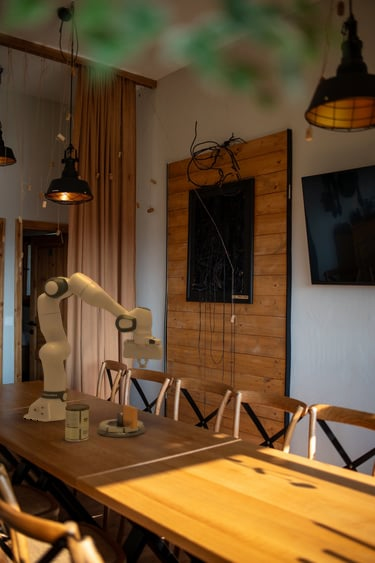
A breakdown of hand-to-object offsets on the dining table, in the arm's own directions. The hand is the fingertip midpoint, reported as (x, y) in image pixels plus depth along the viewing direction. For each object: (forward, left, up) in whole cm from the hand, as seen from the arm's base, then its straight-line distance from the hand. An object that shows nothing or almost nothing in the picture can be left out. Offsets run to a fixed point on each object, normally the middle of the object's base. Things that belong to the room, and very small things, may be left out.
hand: (142, 368), depth 265 cm
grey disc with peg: (-3, -18, -27) cm, 33 cm away
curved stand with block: (-2, -19, -25) cm, 31 cm away
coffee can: (-16, -36, -27) cm, 48 cm away
